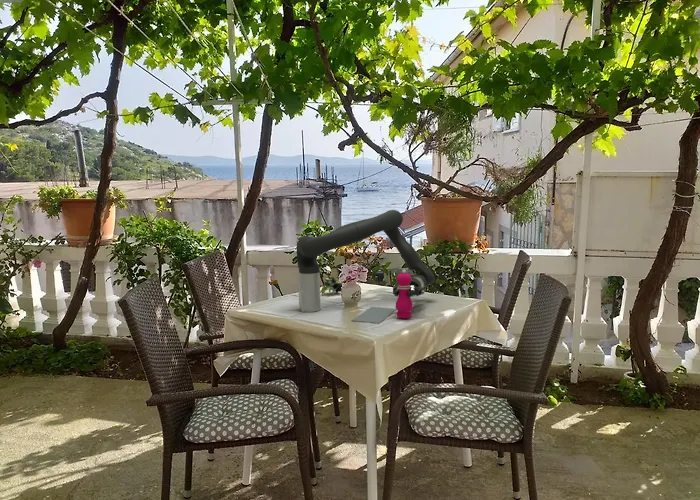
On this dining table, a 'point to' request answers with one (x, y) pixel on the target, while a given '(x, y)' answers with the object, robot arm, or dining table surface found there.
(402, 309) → the pepper mill
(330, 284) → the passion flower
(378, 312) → the mat
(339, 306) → the dining table surface
